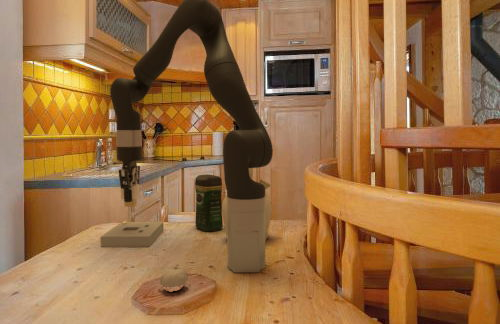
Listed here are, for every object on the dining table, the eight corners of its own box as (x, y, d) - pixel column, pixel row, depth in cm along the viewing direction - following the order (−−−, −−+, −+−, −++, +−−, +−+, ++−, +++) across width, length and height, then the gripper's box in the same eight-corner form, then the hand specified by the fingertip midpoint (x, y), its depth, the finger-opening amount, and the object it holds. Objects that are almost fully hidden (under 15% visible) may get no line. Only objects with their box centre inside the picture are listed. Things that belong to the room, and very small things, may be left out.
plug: (135, 207, 118) (135, 186, 118) (121, 207, 118) (120, 186, 118) (139, 204, 123) (139, 184, 122) (125, 204, 123) (125, 184, 122)
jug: (272, 232, 127) (272, 156, 125) (270, 246, 112) (270, 159, 110) (226, 231, 129) (225, 156, 127) (218, 245, 113) (217, 159, 111)
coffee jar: (226, 229, 132) (226, 175, 130) (206, 233, 127) (205, 176, 125) (211, 224, 139) (211, 172, 138) (192, 227, 135) (191, 174, 133)
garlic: (176, 282, 85) (176, 259, 85) (193, 288, 82) (193, 264, 81) (154, 291, 81) (153, 266, 80) (171, 298, 77) (170, 272, 77)
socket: (149, 246, 112) (149, 234, 112) (101, 246, 112) (100, 234, 112) (163, 230, 130) (163, 220, 130) (121, 231, 130) (121, 220, 130)
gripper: (134, 146, 112) (136, 204, 113) (147, 144, 126) (148, 196, 127) (108, 146, 112) (110, 204, 113) (124, 144, 126) (125, 196, 127)
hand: (130, 200), depth 120 cm, fingers closed on plug, 4 cm apart
